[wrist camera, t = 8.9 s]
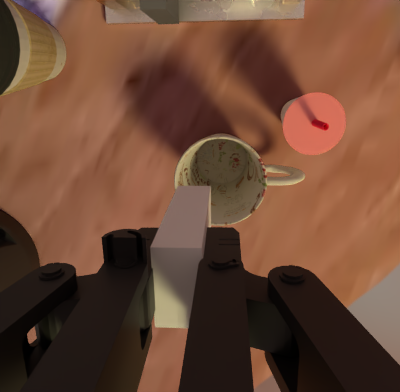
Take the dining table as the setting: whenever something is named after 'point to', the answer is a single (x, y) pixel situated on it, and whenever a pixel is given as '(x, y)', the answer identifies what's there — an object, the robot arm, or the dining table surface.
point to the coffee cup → (27, 49)
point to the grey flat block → (161, 10)
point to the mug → (230, 176)
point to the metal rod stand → (208, 10)
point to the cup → (313, 123)
